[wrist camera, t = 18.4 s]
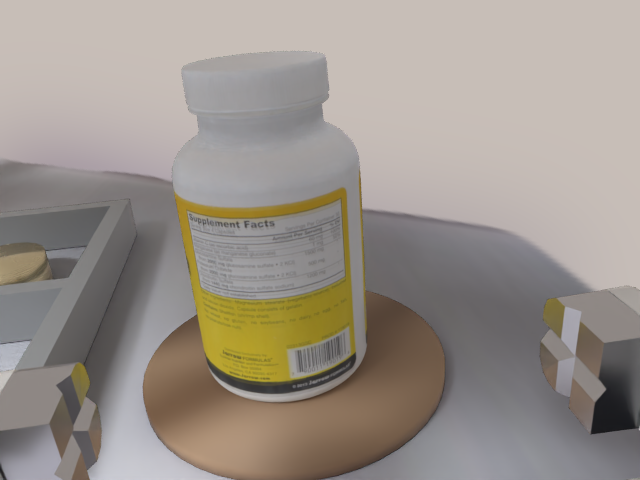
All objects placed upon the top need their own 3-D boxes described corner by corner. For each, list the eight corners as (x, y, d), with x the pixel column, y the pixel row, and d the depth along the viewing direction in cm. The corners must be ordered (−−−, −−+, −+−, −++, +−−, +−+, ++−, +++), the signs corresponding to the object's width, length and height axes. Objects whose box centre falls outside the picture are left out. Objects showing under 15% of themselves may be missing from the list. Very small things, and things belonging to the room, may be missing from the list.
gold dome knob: (-44, 294, 32) (-55, 262, 31) (35, 266, 35) (26, 236, 34) (-17, 320, 29) (-29, 286, 29) (67, 287, 32) (58, 255, 31)
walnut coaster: (92, 378, 24) (89, 366, 24) (302, 272, 31) (301, 263, 31) (281, 554, 16) (279, 539, 16) (503, 356, 23) (504, 343, 23)
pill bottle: (290, 301, 27) (263, 46, 23) (401, 349, 23) (396, 48, 18) (175, 366, 23) (112, 70, 19) (284, 439, 19) (239, 80, 14)
